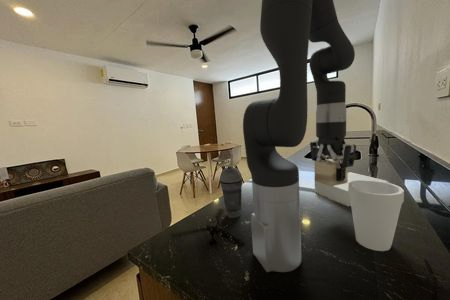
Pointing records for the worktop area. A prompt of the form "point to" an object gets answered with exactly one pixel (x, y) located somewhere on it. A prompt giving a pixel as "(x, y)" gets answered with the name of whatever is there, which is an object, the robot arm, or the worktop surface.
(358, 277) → the worktop surface
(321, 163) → the maple block
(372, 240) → the foam cup
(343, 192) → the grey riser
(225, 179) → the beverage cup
